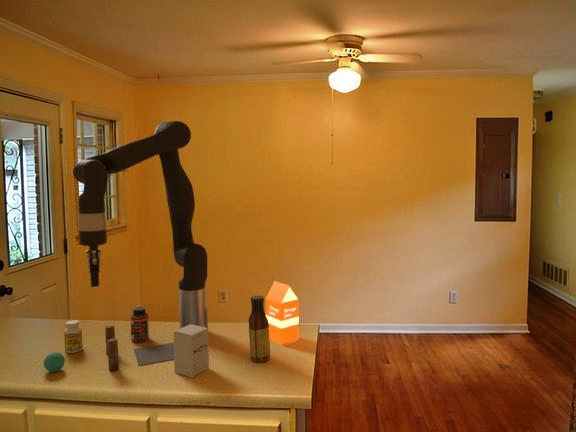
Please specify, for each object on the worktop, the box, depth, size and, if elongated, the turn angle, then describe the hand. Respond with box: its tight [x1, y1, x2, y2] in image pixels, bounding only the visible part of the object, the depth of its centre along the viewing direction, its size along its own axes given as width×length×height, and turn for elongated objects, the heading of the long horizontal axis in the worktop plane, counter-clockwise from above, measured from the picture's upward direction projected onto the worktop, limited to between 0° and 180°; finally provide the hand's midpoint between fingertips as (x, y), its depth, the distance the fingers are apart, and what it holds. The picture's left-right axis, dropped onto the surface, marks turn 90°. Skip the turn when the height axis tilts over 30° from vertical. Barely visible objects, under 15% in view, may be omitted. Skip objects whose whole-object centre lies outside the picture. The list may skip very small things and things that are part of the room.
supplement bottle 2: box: [130, 306, 150, 343], centre depth 160 cm, size 6×6×11 cm
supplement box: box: [172, 324, 210, 378], centre depth 135 cm, size 7×7×13 cm
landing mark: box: [133, 341, 174, 367], centre depth 148 cm, size 14×14×1 cm
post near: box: [107, 338, 120, 373], centre depth 136 cm, size 3×3×9 cm
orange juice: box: [265, 280, 300, 346], centre depth 159 cm, size 8×9×20 cm
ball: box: [43, 351, 66, 373], centre depth 136 cm, size 6×6×6 cm
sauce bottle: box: [248, 295, 271, 363], centre depth 142 cm, size 6×6×20 cm
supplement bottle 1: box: [63, 319, 84, 354], centre depth 151 cm, size 5×5×10 cm
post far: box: [104, 324, 116, 356], centre depth 148 cm, size 3×3×9 cm
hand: (95, 286), depth 136 cm, fingers closed
